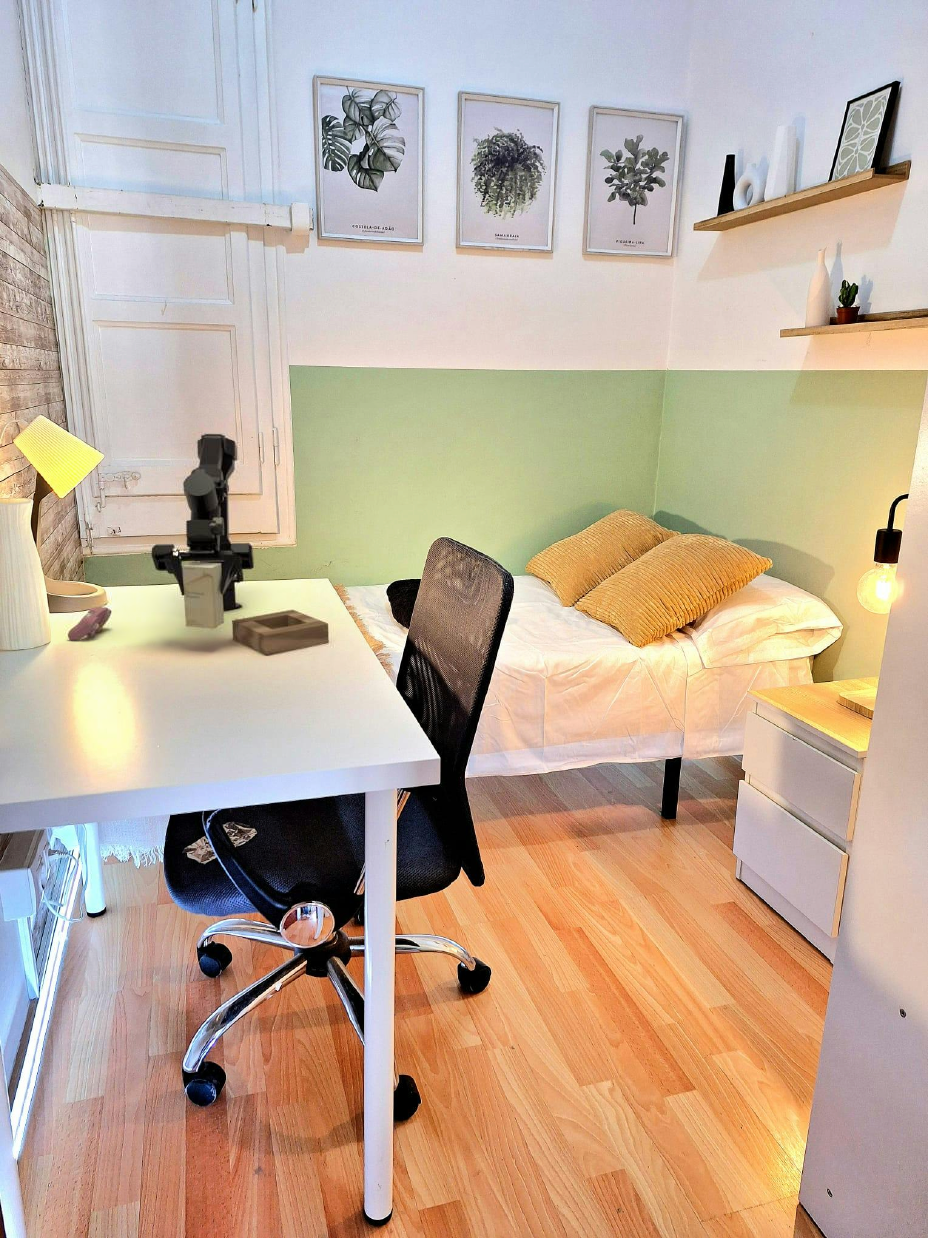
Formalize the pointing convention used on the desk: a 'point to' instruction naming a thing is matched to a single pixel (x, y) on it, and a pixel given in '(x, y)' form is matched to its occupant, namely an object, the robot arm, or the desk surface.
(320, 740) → the desk surface
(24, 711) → the desk surface
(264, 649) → the frame
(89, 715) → the desk surface
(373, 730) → the desk surface
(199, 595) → the skincare box
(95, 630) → the pink toy car
